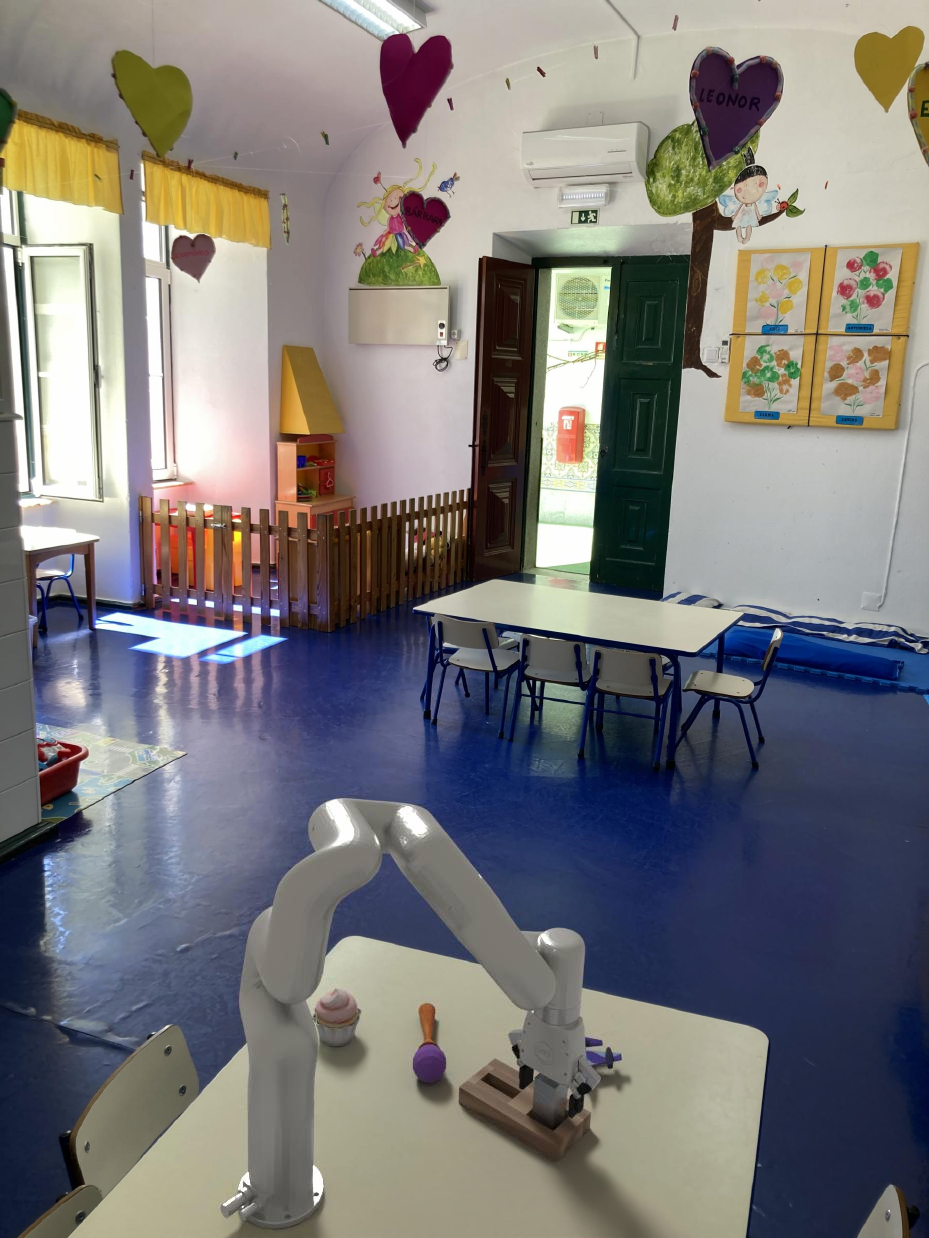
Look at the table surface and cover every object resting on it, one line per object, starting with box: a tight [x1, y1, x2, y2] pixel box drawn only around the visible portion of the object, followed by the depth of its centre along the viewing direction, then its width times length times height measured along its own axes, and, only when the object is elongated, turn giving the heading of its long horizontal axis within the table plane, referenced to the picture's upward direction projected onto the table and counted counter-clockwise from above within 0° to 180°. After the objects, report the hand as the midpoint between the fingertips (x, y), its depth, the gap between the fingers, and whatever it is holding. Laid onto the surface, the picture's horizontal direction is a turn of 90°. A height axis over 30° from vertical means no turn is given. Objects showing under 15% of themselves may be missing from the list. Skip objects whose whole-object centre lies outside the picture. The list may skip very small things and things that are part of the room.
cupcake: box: [311, 987, 363, 1047], centre depth 180 cm, size 9×9×10 cm
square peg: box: [532, 1072, 569, 1131], centre depth 159 cm, size 4×4×10 cm
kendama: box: [412, 1002, 447, 1083], centre depth 177 cm, size 6×6×20 cm
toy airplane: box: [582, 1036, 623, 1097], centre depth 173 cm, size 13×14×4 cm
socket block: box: [458, 1057, 592, 1163], centre depth 162 cm, size 10×20×3 cm, turn 51°
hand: (550, 1098), depth 158 cm, fingers open, 9 cm apart
